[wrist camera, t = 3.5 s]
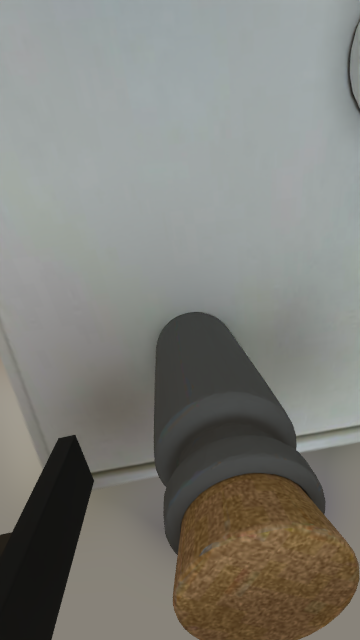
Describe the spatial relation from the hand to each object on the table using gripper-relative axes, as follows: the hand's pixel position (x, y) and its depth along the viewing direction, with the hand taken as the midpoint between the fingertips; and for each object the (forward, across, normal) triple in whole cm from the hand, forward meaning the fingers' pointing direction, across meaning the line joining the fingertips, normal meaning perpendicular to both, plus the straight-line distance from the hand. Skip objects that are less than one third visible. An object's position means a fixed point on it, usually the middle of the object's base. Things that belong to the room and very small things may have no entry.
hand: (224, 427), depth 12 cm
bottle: (+9, 0, 0) cm, 9 cm away
